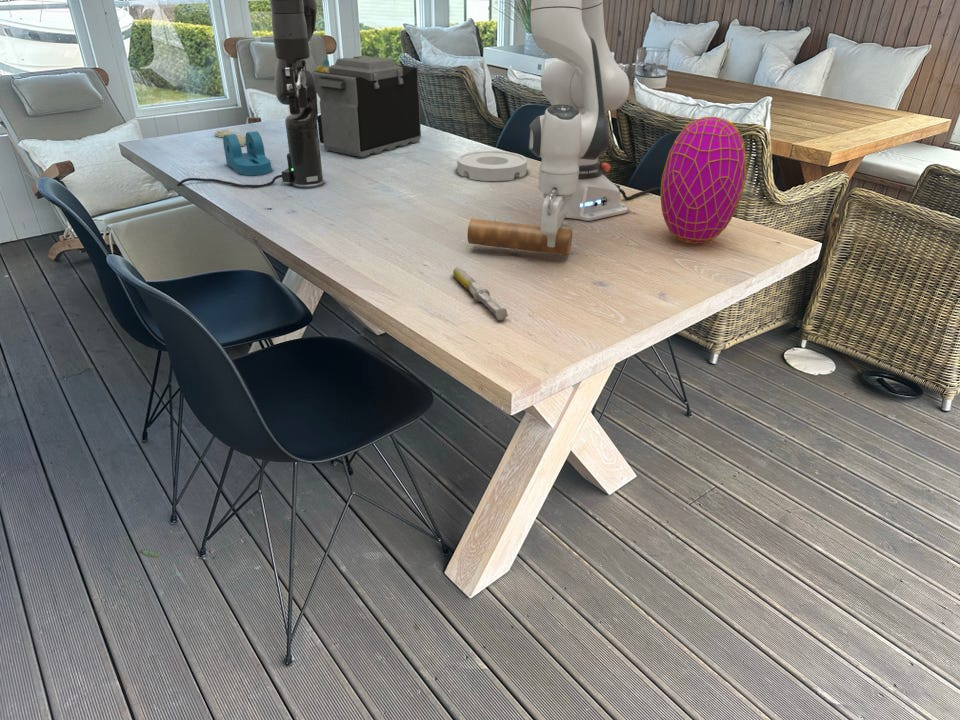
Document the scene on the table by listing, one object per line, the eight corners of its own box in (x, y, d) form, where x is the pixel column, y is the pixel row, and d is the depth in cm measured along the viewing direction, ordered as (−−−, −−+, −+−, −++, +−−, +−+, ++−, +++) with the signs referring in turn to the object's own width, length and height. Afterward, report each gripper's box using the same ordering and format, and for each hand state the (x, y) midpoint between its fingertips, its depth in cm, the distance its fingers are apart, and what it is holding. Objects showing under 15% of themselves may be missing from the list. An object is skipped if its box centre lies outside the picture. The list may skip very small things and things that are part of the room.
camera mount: (227, 164, 233) (221, 132, 227) (257, 160, 238) (252, 129, 233) (244, 176, 220) (239, 143, 215) (276, 172, 225) (271, 139, 220)
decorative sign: (264, 139, 260) (239, 143, 254) (265, 142, 261) (240, 146, 255) (233, 128, 277) (209, 131, 271) (233, 130, 277) (209, 134, 271)
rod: (467, 247, 165) (467, 223, 162) (474, 238, 170) (474, 215, 167) (567, 259, 160) (569, 234, 157) (571, 249, 165) (573, 225, 162)
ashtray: (459, 161, 239) (459, 150, 237) (525, 163, 239) (526, 151, 237) (455, 180, 219) (455, 167, 217) (527, 181, 219) (528, 169, 217)
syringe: (449, 274, 155) (449, 263, 153) (465, 272, 156) (464, 260, 154) (490, 323, 135) (491, 310, 133) (508, 319, 136) (508, 307, 134)
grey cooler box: (383, 133, 276) (378, 52, 261) (425, 141, 265) (422, 56, 250) (314, 150, 251) (304, 61, 235) (358, 160, 240) (350, 67, 224)
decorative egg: (709, 261, 163) (734, 131, 148) (638, 240, 174) (655, 118, 159) (744, 240, 175) (770, 118, 160) (676, 222, 187) (694, 107, 171)
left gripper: (300, 38, 148) (309, 117, 156) (313, 32, 160) (320, 105, 169) (265, 38, 148) (276, 116, 156) (281, 32, 160) (290, 105, 169)
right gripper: (564, 197, 145) (560, 258, 152) (578, 171, 162) (574, 227, 169) (535, 194, 147) (532, 255, 154) (552, 169, 164) (548, 225, 171)
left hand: (299, 110), depth 163 cm, fingers open, 8 cm apart
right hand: (554, 240), depth 162 cm, fingers closed on rod, 6 cm apart
